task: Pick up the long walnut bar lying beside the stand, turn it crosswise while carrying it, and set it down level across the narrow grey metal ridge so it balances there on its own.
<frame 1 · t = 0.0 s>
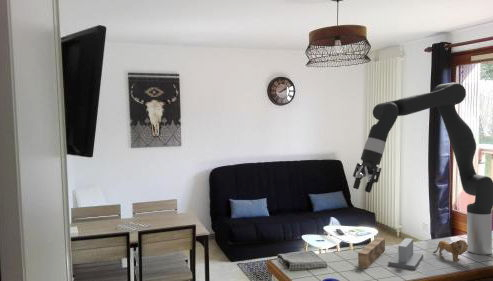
hand: (361, 190, 155), 31 cm above the kitchen counter, tool tilted 20°, fingers open, 8 cm apart
lion figurine: (451, 259, 164), on the kitchen counter
walnut bar: (372, 258, 167), on the kitchen counter
ridge stand: (406, 261, 162), on the kitchen counter
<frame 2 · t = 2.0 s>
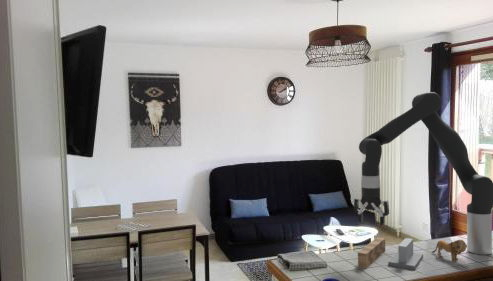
hand: (371, 223, 167), 15 cm above the kitchen counter, tool pointing down, fingers open, 8 cm apart
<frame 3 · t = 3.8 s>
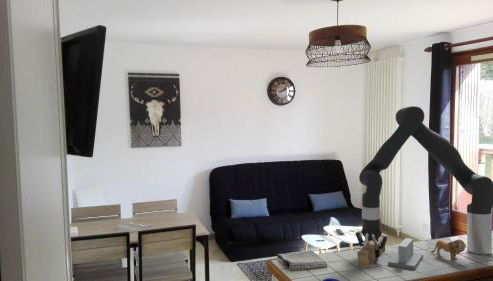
hand: (372, 256, 167), 1 cm above the kitchen counter, tool pointing down, fingers closed on walnut bar, 3 cm apart
walnut bar: (372, 258, 167), on the kitchen counter, touching gripper
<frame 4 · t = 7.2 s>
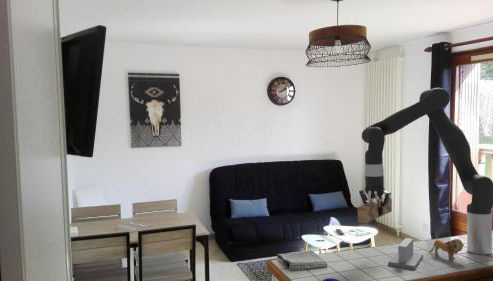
hand: (375, 214, 166), 19 cm above the kitchen counter, tool pointing down, fingers closed on walnut bar, 3 cm apart
walnut bar: (375, 216, 166), point 18 cm above the kitchen counter, touching gripper
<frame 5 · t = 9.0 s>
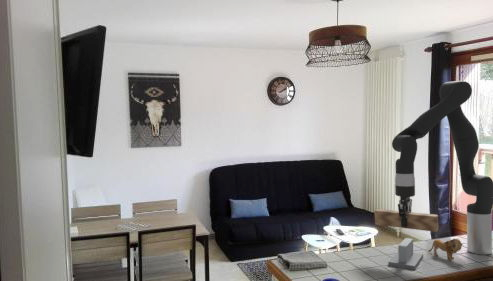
hand: (405, 225, 162), 15 cm above the kitchen counter, tool pointing down, fingers closed on walnut bar, 3 cm apart
walnut bar: (405, 227, 162), point 14 cm above the kitchen counter, touching gripper
when the fingers open (9 cm above the kitchen counter, at t = 10.4 s): walnut bar stays where it is, resting on ridge stand.
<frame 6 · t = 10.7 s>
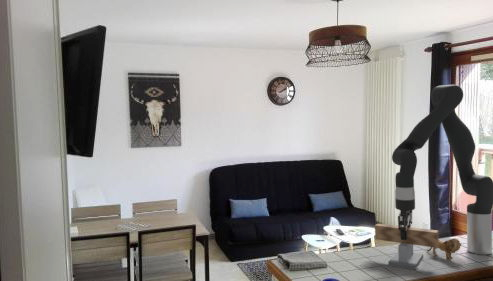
hand: (405, 237, 162), 10 cm above the kitchen counter, tool pointing down, fingers open, 6 cm apart
walnut bar: (405, 242, 162), point 8 cm above the kitchen counter, touching ridge stand
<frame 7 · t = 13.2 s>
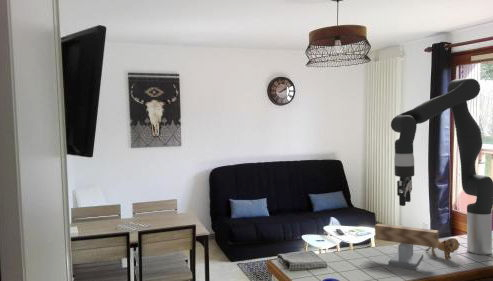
hand: (405, 203, 161), 24 cm above the kitchen counter, tool pointing down, fingers open, 8 cm apart
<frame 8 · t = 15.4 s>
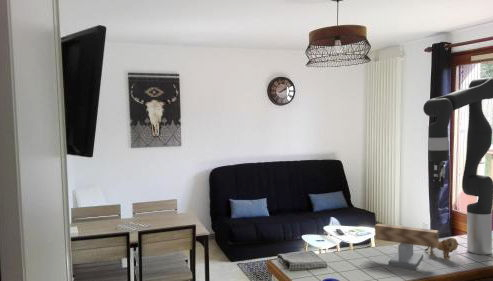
hand: (439, 189, 158), 30 cm above the kitchen counter, tool pointing down, fingers open, 8 cm apart
at the end: walnut bar 0.0 cm off-centre on the ridge stand, point 8.0 cm above the ridge stand's base; walnut bar tilted 0°; the gripper is holding nothing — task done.
